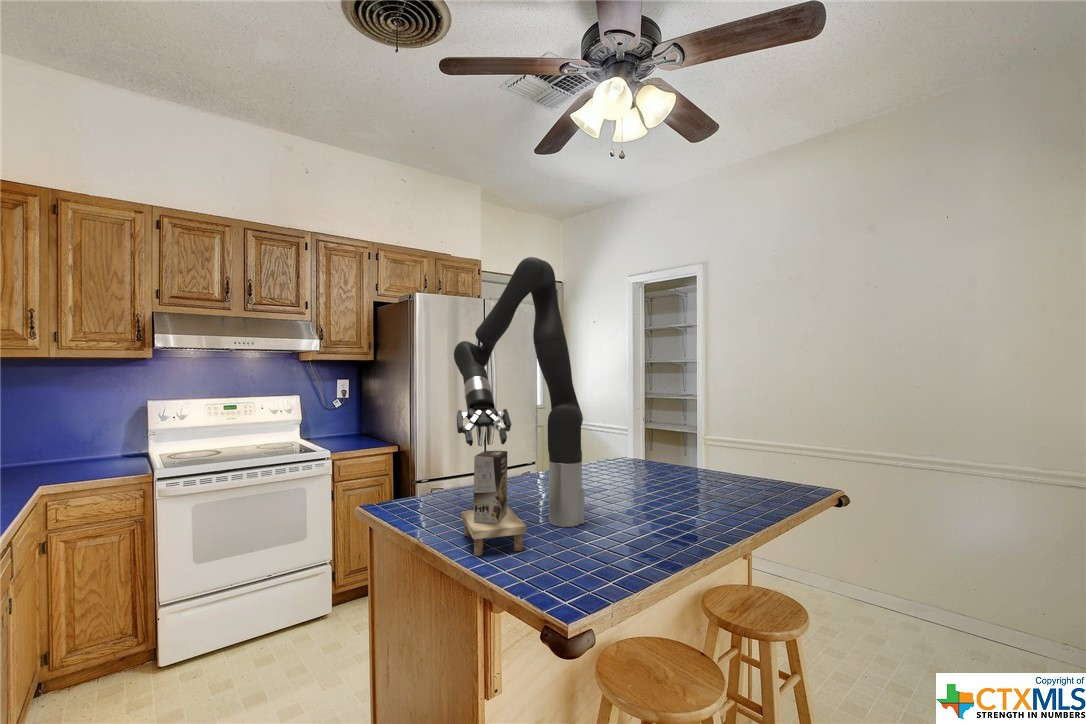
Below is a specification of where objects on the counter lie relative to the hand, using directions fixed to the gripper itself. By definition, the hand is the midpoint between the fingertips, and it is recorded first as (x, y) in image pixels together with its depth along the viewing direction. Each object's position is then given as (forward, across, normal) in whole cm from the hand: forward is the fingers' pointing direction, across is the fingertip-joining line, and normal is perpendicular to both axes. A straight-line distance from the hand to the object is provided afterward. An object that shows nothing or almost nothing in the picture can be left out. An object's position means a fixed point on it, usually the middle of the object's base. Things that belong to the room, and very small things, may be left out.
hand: (487, 443), depth 130 cm
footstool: (+21, 0, +13) cm, 24 cm away
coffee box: (+16, 0, +9) cm, 19 cm away
